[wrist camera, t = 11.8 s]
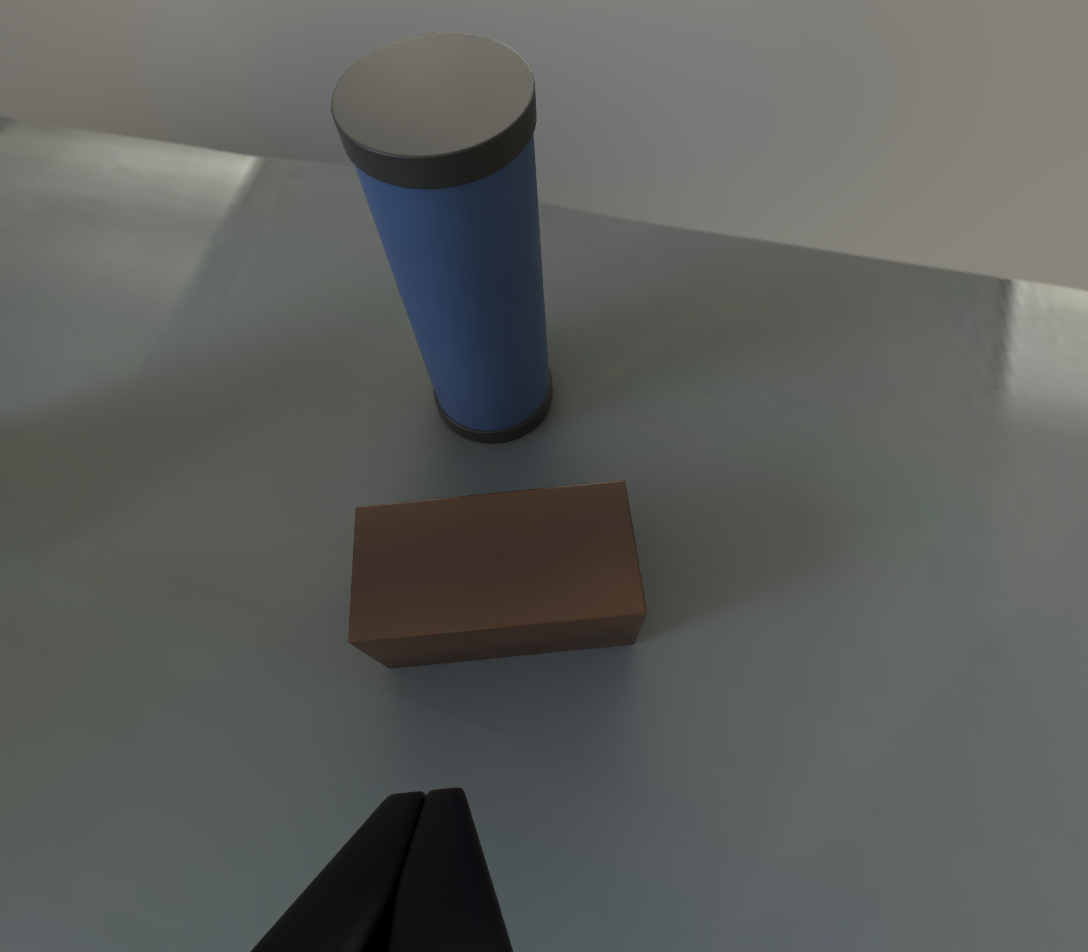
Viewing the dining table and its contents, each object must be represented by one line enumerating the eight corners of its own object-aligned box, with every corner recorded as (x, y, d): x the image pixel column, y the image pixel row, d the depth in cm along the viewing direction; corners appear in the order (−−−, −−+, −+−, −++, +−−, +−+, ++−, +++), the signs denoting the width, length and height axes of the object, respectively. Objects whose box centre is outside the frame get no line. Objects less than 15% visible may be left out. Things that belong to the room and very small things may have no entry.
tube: (573, 521, 15) (527, -42, 12) (391, 538, 15) (288, -19, 12) (553, 418, 27) (526, 112, 23) (447, 428, 27) (403, 124, 23)
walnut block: (634, 644, 20) (647, 613, 16) (388, 669, 20) (347, 643, 16) (617, 529, 22) (625, 479, 18) (391, 552, 22) (354, 505, 18)
